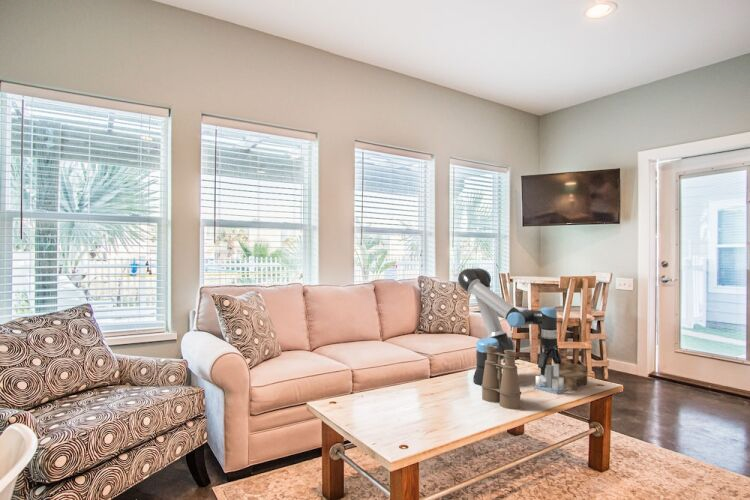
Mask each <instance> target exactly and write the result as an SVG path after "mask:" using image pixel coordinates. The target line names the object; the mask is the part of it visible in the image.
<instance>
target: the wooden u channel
mask: <svg viewBox="0 0 750 500" xmlns="http://www.w3.org/2000/svg"><path fill="white" fill-rule="evenodd" d="M559 377H562V378H564V387H565V388H566V389H569V388H570V390H574V391H576V390H577V386H578V385H577V383H578V384H582V385H586V386H587V385H588V366H587V365H581V364H578V363H577V364H576V363H570V362H565V361H561V364H560V367H559ZM554 379H555V380H557V377H556V376H554Z"/></svg>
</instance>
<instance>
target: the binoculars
mask: <svg viewBox="0 0 750 500" xmlns="http://www.w3.org/2000/svg"><path fill="white" fill-rule="evenodd" d="M486 348H487V351H486V353H487V360H485V368H484V375H483V383H482V384H481V385H480V386H481V393H482V394H481V399H482V400H483V401H485V402H489V403H499V406H500V407H502V408H504V409H506V410H507V409H508V410H519V409H520V408H521V406H522V405H521V395H522V392H521V387H520V380H519V374H518V373H519V372H518V366H517V365H516V358H517V355H516V353H517V351H516V350H504V353H505V354H501V353H500V352H499V353H498V352H497V351H496V350H497V347H496V346H486ZM497 354H498V355H499V361H497ZM501 355H502V356H504V357H505V359H504V364H502V363H501V362H502V360H501Z"/></svg>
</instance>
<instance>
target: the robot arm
mask: <svg viewBox="0 0 750 500" xmlns="http://www.w3.org/2000/svg"><path fill="white" fill-rule="evenodd" d="M457 279H458V280H457V281H458V284H459V286H460V287H461V288H462V289H463V290H464V291H465V292H467V293H468V294H472V295H474V297H475V299H476V302H477V305H478V308H479V312H480V315H481V317H482V320H483V323H484V326H485V329H486V332H487V337H482V338H479V339H477V341H476V347H475V349H476V350H475V351H476V368H475V370H474V374H473V380H472V381H473V383H474V384H476V385H478V386H481V384H482V383H483V375H484V368H485V360H487V353H486V351H487V348H486V346H496V347H497V350H496V351H497V352H498V353H499V352H500V353H501V354H505V353H504V350H514V351H516V350H515V349H516V346H515V343H514V340H513V339H511V338H510V337H509V336H508V334H507V333H508V332H506V331H504V330H503V327H502V324H501V321H500V319H499V315H501V316H502V317H503V318H504V319H506V320H507V323H508V324H509V326H510V327H513V328H521V327H524V326H529V325H535V326H537V325H538V326H541V327H540V328H541V329H540V331H541V345H542V346H544V347H541V348H540V355H539V359H538V363H537V367H538V369H540V376H541V381H544V382H547V376H546V369H545V368H546V365H548V361H549V359H550V358H551V359H552V361H553V363H552V366H554V376H556V377H559V369H560V365H561V362H562V359H561V358H562V357H561V356H560V352H559V346H558V333H559V332H558V316H557V315H558V314H557V309H556V308H555V307H550V306H548V307H547V306H542V307H541V309H540V310H536V309H535V310H534V309H528V308H526V309H525V308H524V309H520V310H519V309H518V308H516V307H515V306H513V305H512V304H510V303H509V302H508V301H506V300H505V299H504V298H502V297H501V296H500V295H498V294H497V293H495V292H494V291H493V290H491V285H490V284H491V281H492V277H491V274H490V273H489V271H487V270H486V269H485V268H479V267H476V268H465V269H463V270H461V272H459V275H458V277H457ZM498 314H499V315H498ZM502 360H505V357H504V356H502V355H501V361H502ZM497 361H498V362H499V355H498V354H497Z"/></svg>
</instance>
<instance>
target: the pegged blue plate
mask: <svg viewBox="0 0 750 500" xmlns="http://www.w3.org/2000/svg"><path fill="white" fill-rule="evenodd" d="M545 369H546V376H547V382H544V381H541V375H535V385H534V386H533V389H534V390H536V389H537V390H538V391H540V390H541V392H544V391H545V392H546V393H548V392H549V394H552V393H553V395H556V394H557V395H559V394H561V393H562V392H565V391H566V390H567V388H565V387H564V378H562V377H557V380H555V379H554V366H553V364H552V365H551V364H547V365H546V368H545ZM545 392H544V393H545Z"/></svg>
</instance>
